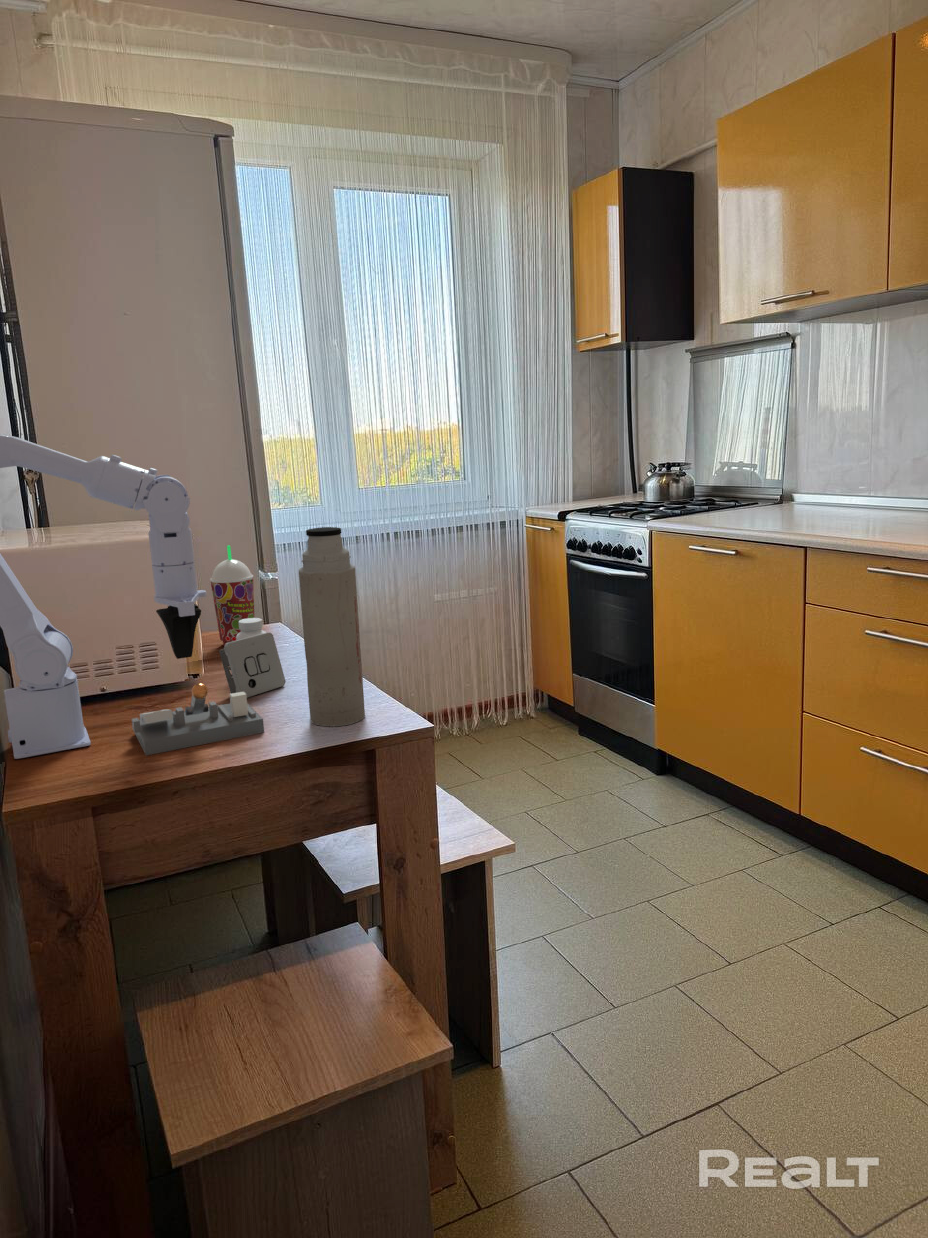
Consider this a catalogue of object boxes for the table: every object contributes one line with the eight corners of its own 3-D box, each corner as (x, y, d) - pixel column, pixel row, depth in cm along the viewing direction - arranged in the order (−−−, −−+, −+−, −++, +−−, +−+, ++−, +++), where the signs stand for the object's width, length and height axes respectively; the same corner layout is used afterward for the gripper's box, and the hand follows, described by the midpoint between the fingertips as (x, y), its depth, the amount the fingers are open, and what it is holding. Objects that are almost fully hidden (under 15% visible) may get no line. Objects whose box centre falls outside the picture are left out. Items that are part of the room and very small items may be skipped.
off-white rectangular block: (234, 717, 123) (232, 696, 122) (231, 714, 125) (229, 694, 124) (248, 714, 124) (246, 694, 123) (245, 711, 125) (243, 691, 125)
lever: (187, 720, 123) (191, 696, 117) (183, 706, 124) (187, 682, 118) (208, 716, 124) (213, 692, 118) (205, 702, 125) (210, 678, 119)
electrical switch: (241, 701, 138) (232, 644, 137) (221, 699, 142) (213, 643, 140) (287, 686, 145) (279, 632, 144) (267, 684, 149) (259, 631, 147)
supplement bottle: (239, 679, 150) (233, 624, 148) (239, 671, 155) (234, 618, 153) (271, 676, 151) (266, 622, 149) (270, 668, 156) (265, 615, 154)
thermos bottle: (366, 707, 132) (354, 523, 126) (363, 725, 125) (350, 529, 119) (313, 710, 132) (298, 526, 126) (307, 728, 124) (291, 532, 118)
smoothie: (237, 651, 170) (227, 549, 165) (207, 646, 174) (197, 547, 170) (268, 641, 177) (259, 543, 172) (239, 637, 181) (230, 541, 177)
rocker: (145, 723, 117) (144, 713, 117) (140, 722, 122) (139, 713, 122) (173, 718, 119) (171, 708, 119) (167, 717, 124) (165, 708, 124)
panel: (141, 756, 116) (137, 727, 115) (130, 734, 124) (127, 708, 124) (264, 732, 123) (261, 705, 122) (246, 713, 132) (243, 687, 131)
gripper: (213, 566, 118) (222, 663, 121) (192, 554, 130) (201, 642, 133) (158, 572, 115) (170, 671, 117) (143, 559, 127) (153, 649, 130)
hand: (183, 656), depth 125 cm, fingers closed
